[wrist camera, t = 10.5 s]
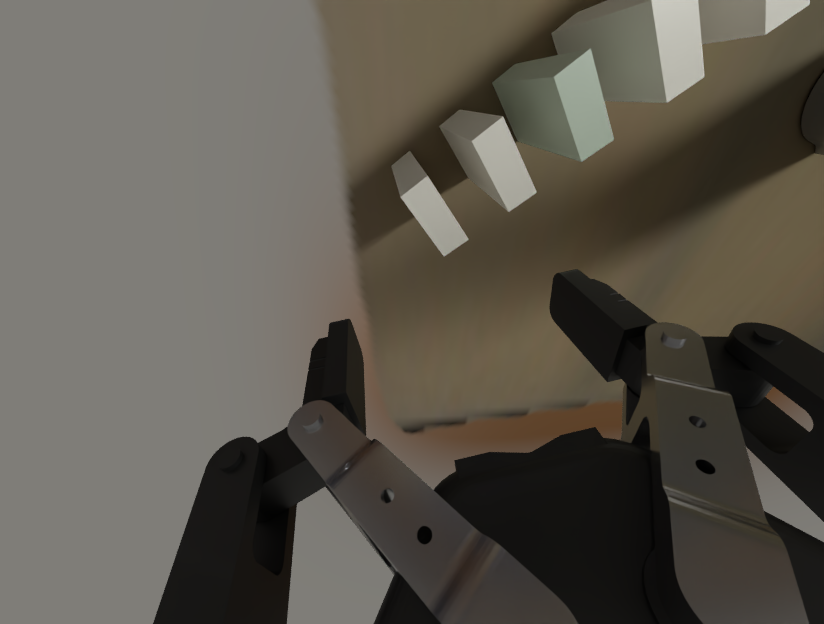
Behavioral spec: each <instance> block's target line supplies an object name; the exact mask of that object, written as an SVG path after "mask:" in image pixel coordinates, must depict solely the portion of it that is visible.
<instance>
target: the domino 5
mask: <svg viewBox="0 0 824 624" xmlns="http://www.w3.org/2000/svg"><path fill="white" fill-rule="evenodd" d="M698 4H699V16H700V28H701V40H702V44H708V43H714V42H721V41H728V40H734V39H741V38H748V37H754V36H761V35H766V34H767V33H769V32H770V31H772V30H773V29H775V28H776V27H777V26H779V25H780V24H782V23H783V22H785V21H786V20H788V19H789V18H790V17H792V16H793V15H795V14H796V13H798V12H799V11H801V10H802V9H804V8H805V7H806V6H808V5H809V4H810V0H698Z"/></svg>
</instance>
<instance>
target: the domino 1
mask: <svg viewBox="0 0 824 624" xmlns="http://www.w3.org/2000/svg"><path fill="white" fill-rule="evenodd" d="M391 167H392V171H393V174H394V177H395V181H396V184H397V187H398V191H399V194H400V197H401V199H402V200H403V201H404V203H405V204H406V205H407V207H408V208H409V209H410V211H411V212H412V214H413V215H414V216H415V218H416V219H417V220H418V222H419V223H420V225H421V226H422V227H423V229H424V230H425V231H426V233H427V234H428V235H429V237H430V238H431V240H432V241H433V242H434V244H435V245H436V246H437V248H438V249H439V251H440V252H441V253H442V255H443V256H446V255H447V254H449V253H450V252H451V251H453V250H454V249H456V248H457V247H459V246H460V245H462V244H463V243H465V242H466V241H467V240H469V239H468V238H467V236H466V234H465V233H464V231H463V230H462V228H461V227H460V225H459V224H458V222H457V220H456V219H455V217H454V216H453V214H452V213H451V211H450V210H449V208H448V207H447V205H446V203H445V202H444V200H443V199H442V197H441V196H440V194H439V193H438V191H437V189H436V188H435V186H434V185H433V183H432V182H431V180H430V179H429V177H428V176H427V174H426V173H425V171H424V170H423V169H422V167H421V166H420V164H419V163H418V162H417V160H416V159H415V157H414V156H413V155H412V153H411V152H410V151H409V152H407V153H406V154H405V155H404V156H402V157H401V158H400V159H399V160H398V161H396V162H395V163H394V164H393V165H392V166H391Z"/></svg>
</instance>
